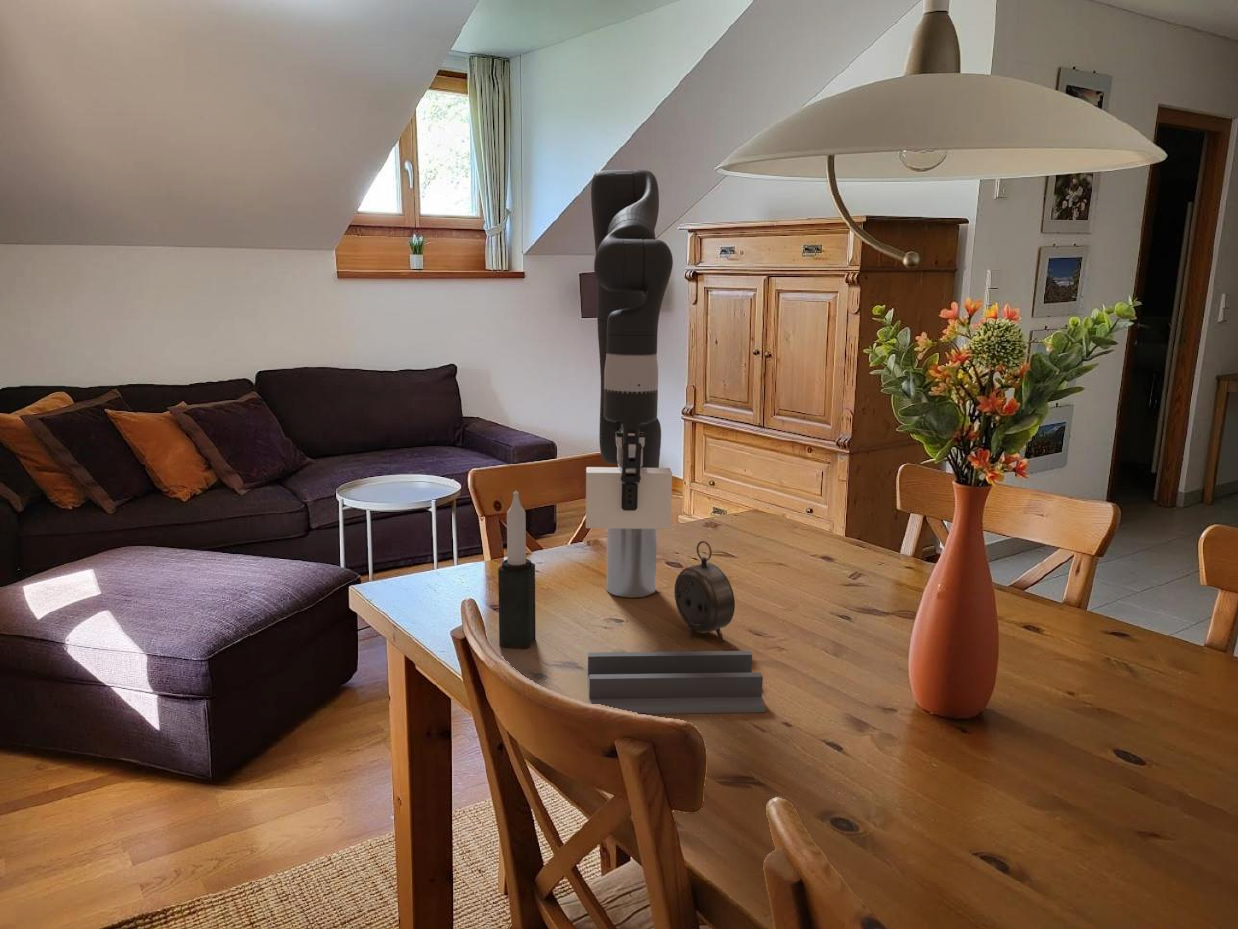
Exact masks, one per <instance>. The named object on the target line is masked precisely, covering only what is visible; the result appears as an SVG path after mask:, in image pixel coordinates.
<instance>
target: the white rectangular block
mask: <svg viewBox="0 0 1238 929" xmlns="http://www.w3.org/2000/svg"><path fill="white" fill-rule="evenodd" d="M585 471H586V472H585V475H586V476H585V529H607V528H620V529H657V530H658V529H659V530H671V529H672V528H671V527H672V523H671V522H672V493H673V492H672V491H673V472H672V470H671V468H670V467H659V468H640V476H641V480H640V483H639V484H638V500H637V509H636V510H635V511H625V510H623V509H622V506H621V504H622V484H621V482H620V478H621V468H620V467H619V466H617V467H615V466H614V467H612V466H610V467H609V466H608V467H607V466H587V467H586V468H585ZM626 474H635V468H627V469H626Z"/></svg>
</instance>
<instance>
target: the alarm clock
mask: <svg viewBox="0 0 1238 929" xmlns="http://www.w3.org/2000/svg"><path fill="white" fill-rule="evenodd" d="M701 544H705V545H706V546H707V547H708V549H709V556H708V557H706V556H704V557H701V554H700V550H699V547H700V545H701ZM696 553H697V556H698V557H699V559H700V561H701V563H698V564H696V565H693V566H689V567H685V568H684V569H682V570H681V571H680V572H679V574H678V576H677V578H675V579H676V580H675V583H674V600H675V605H676V607H677V610H678V613H679V614H680V616H681V619H682V621H684V623H685V624H686V625H687V626H688V627H689V628H690V632H689V634H688V637H689V638H692V637H693V636H694V635H693V634H694V633H695V632H697V633H699V634H700V633H701V634H706V633H710V632H714V631H715V632H716V635H717V636H718V638H719V639H720V643H725V639H724V637H723V633H722V631H721V629H723V628H725V627H727V626H728V625H729V624H730V623H731V621H732V620H733V617H734V614H735V608H736V606H735V605H736V602H735V595H734V590H733V587H732V584H731V582H730V581H729V579H728V577H727V576H726V574H725V573H724V571H723V570H721V568H719V566H717V565H715V564H713V563H711V562H708V561H709V560H710V559H711V557H712V554H713V552H712V547H711V545H710V543H708V542H707V541H705V540H701V541H699V542H698V543H697V545H696Z"/></svg>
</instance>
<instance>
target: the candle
mask: <svg viewBox="0 0 1238 929" xmlns="http://www.w3.org/2000/svg"><path fill="white" fill-rule="evenodd" d="M519 493H520V492H518V491H517V490H515V491H514V492H513V493H512V494H513V497H512V502H511V504H510V505H511V506H509V509H507V512H506V546H507V548H506V549H507V553H506V555H507V558H506V559H504V560H503V561H502V562H501V565H500V566H499V567H498V569H497V570H498V571H497V572H498V573H497V575H498V578H497V579H498V580H497V581H498V586H497V587H498V641H499V642H498V643H499V646H500V647H501V648H507V649H508V648H509V649H518V650H519V649H520V650H526V649H529V648H531V645H532V643H533V642H534V641H536V564H535V563H534V562H532V561H531V560H530V559H527V543H526V542H527V537H526V536H527V535H526V534H527V532H526V531H527V529H526V528H527V527H526V525H527V523H526V522H527V519H526V511H525V508H523V506H522V503H521V501H520V497H519V496H520V495H519Z"/></svg>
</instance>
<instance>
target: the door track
mask: <svg viewBox="0 0 1238 929" xmlns="http://www.w3.org/2000/svg"><path fill="white" fill-rule="evenodd" d="M587 653H588V654H587V685H588V701H589V702H588V703H591V704H601V705H605V706H609V707H613V708H618V709H622V710H627V711H632V712H637V713H646V714H645V715H658V714H660V715H662V714H663V715H666V714H667V715H670V714H672V715H673V714H724V713H725V714H727V713H728V714H731V713H734V714H736V713H737V714H738V713H766V709H767V706H766V703H765V700H764V699H763V684H764V682H763V681H764V679H763V678H764V677H763V674H762V672H760V671H759V672H752V669H753V653H752V651H751V650H715V651H714V650H712V651H711V650H708V651H707V650H704V651H703V650H700V651H699V650H698V651H697V650H696V651H631V652H630V651H621V652H620V651H618V652H614V651H611V652H604V651H603V652H600V651H599V652H598V651H596V652H587Z"/></svg>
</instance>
